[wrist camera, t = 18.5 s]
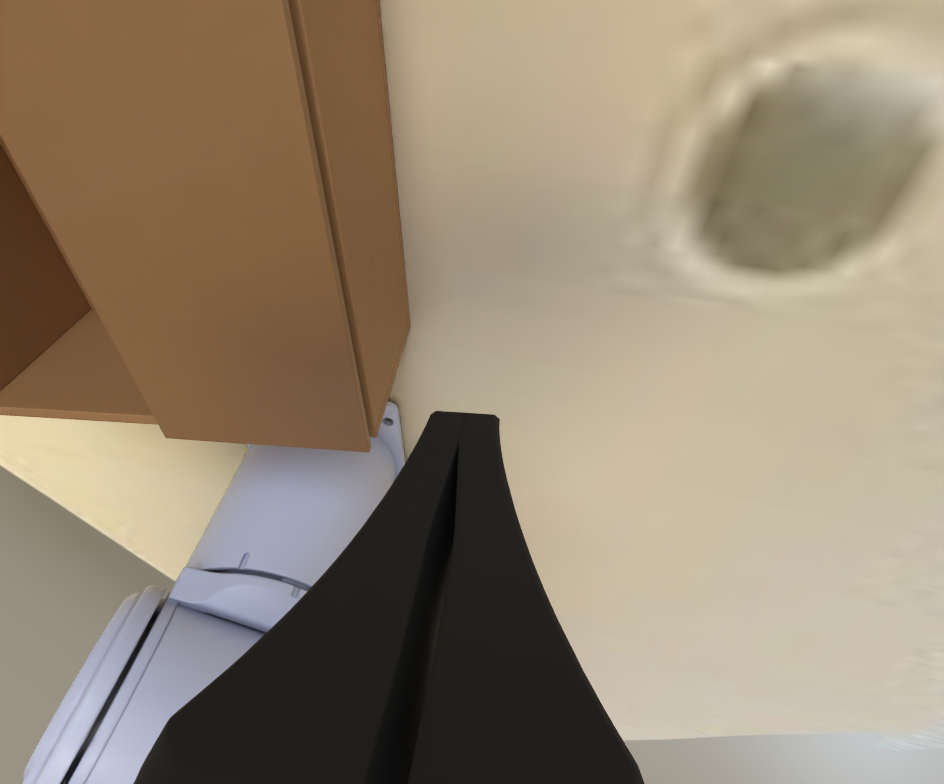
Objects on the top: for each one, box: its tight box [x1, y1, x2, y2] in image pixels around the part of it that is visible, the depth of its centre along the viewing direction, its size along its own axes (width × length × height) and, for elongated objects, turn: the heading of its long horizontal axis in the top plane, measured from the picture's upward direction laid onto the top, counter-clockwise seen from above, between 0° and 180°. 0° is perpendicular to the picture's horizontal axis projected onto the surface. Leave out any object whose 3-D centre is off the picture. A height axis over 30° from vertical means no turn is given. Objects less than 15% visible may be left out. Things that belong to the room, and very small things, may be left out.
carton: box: [0, 0, 410, 438], centre depth 16 cm, size 14×14×6 cm
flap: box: [0, 0, 371, 453], centre depth 13 cm, size 7×14×1 cm, turn 0°
